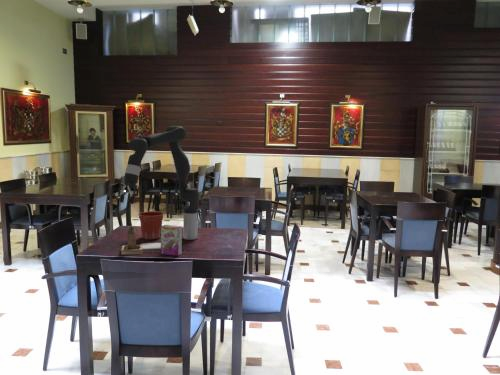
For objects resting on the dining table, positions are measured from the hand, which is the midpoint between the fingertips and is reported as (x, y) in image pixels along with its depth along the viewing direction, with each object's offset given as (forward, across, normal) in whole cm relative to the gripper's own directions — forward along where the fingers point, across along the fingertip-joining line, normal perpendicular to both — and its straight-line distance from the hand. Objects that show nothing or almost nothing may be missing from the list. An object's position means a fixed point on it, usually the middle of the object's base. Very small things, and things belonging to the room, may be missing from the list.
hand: (126, 203), depth 228 cm
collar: (+26, +8, -17) cm, 33 cm away
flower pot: (+18, +27, -46) cm, 56 cm away
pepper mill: (+26, +8, -17) cm, 33 cm away
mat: (+22, +9, -32) cm, 39 cm away
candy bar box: (+24, -13, -28) cm, 39 cm away
